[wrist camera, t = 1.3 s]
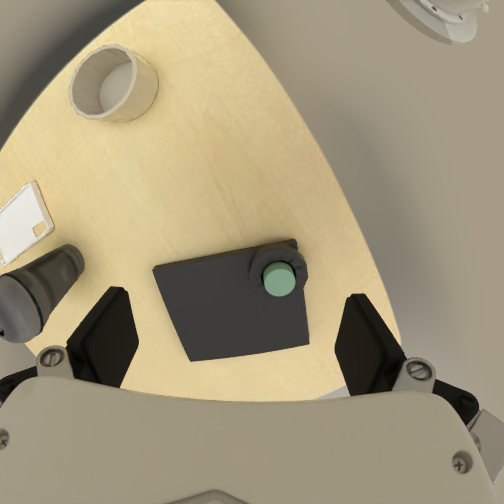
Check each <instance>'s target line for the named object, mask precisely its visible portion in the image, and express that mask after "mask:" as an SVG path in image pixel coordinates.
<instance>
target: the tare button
mask: <svg viewBox="0 0 504 504" xmlns="http://www.w3.org/2000/svg"><path fill="white" fill-rule="evenodd" d="M264 285H265V288H266V290H267V291H268V292H269V293H270V294H272V295H274V296H284V295H287V294H288V293H290V292H291V291H292V290H293V288H294V286H295V277H294V274H293V271H292V269H291V267H290V266H289V265H288V264H286V263H284V262H274V263H272V264H270V265H269V266H267V268H266V269H265V271H264Z"/></svg>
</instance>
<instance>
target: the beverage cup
mask: <svg viewBox="0 0 504 504" xmlns="http://www.w3.org/2000/svg"><path fill="white" fill-rule="evenodd" d="M83 270H84V259H83V257H82V254H81V253H80V252H79V250H78V249H77V248H76V247H74V246H72V245H67V244H66V245H64V246H62V247H59V248H57V249H54V250H53V251H51V252H49V253H47V254H45V255H43V256H41V257H39V258H37V259H36V260H34V261H32V262H30V263H28V264H27V265H25V266H23V267H21V268H19V269H16V270H13V271H11V272H9V273H5V274H3V275H1V276H0V337H2V338H3V339H5V340H6V341H9V342H12V343H25V342H28V341H30V340H31V339H33V338H34V337H35V336H37V335H39V334H40V333H41V332H42V330H43V327H44V326H45V324H46V322H47V320H48V318H49V315H50V314H51V312H52V311H53V310H54V308H55V307H56V306H57V304H58V303H59V302H60V301H61V299H62V298H63V297H64V295H65V294H66V293H67V292H68V290H69V289H70V288H71V287H72V285H73V284H74V283H75V282H76V281H77V279H78V277H79V276H80V274H82V272H83Z"/></svg>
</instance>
